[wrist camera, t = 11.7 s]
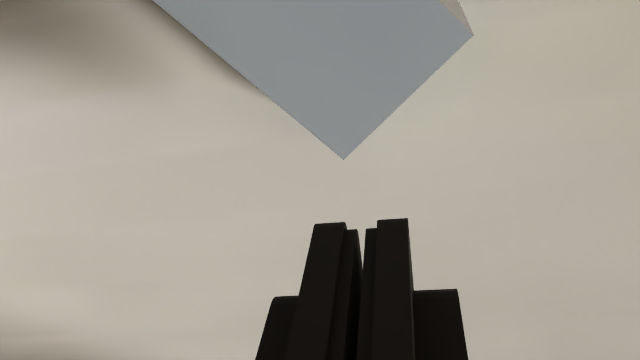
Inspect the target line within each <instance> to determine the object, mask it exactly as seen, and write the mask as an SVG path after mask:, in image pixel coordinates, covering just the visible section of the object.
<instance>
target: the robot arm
mask: <svg viewBox="0 0 640 360" xmlns="http://www.w3.org/2000/svg"><path fill="white" fill-rule="evenodd" d="M255 360H468V355H467V349H466V342H465V336H464V329H463V323H462V316H461V309H460V303H459V296H458V291H457V289H443V290H420V291H414V288H413V276H412V263H411V251H410V239H409V227H408V218H404V219H387V220H378V221H377V228H370V229H366V236H365V249H364V262H363V268H362V260H361V252H360V244H359V236H358V231H357V229H353V230H347V227H346V223H345V222H339V223H322V224H315V225H314V229H313V233H312V238H311V242H310V247H309V251H308V256H307V260H306V265H305V269H304V274H303V279H302V283H301V288H300V292H299V296H280V297H275V298H274V299H273V300H272V303H271V306H270V309H269V313H268V316H267V320H266V323H265V327H264V331H263V334H262V338H261V341H260V345H259V348H258V352H257V356H256V359H255Z"/></svg>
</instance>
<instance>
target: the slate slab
mask: <svg viewBox="0 0 640 360" xmlns="http://www.w3.org/2000/svg"><path fill="white" fill-rule="evenodd" d="M153 1H154V2H155V3H156V4H157V5H159V6H160V7H161V8H162V9H163V10H165V11H166V12H167V13H168V14H169V15H171V16H172V17H173V18H174V19H175V20H177V21H178V22H179V23H180V24H181V25H183V26H184V27H185V28H186V29H187V30H189V31H190V32H191V33H192V34H193V35H195V36H196V37H197V38H198V39H199V40H201V41H202V42H203V43H204V44H205V45H207V46H208V47H209V48H210V49H211V50H213V51H214V52H215V53H216V54H217V55H219V56H220V57H221V58H222V59H223V60H225V61H226V62H227V63H228V64H229V65H231V66H232V67H233V68H234V69H235V70H237V71H238V72H239V73H240V74H241V75H243V76H244V77H245V78H246V79H247V80H249V81H250V82H251V83H252V84H253V85H255V86H256V87H257V88H258V89H259V90H260V91H262V92H263V93H264V94H265V95H266V96H268V97H269V98H270V99H271V100H272V101H274V102H275V103H276V104H277V105H278V106H280V107H281V108H282V109H283V110H284V111H286V112H287V113H288V114H289V115H290V116H292V117H293V118H294V119H295V120H296V121H298V122H299V123H300V124H301V125H302V126H304V127H305V128H306V129H307V130H308V131H310V132H311V133H312V134H313V135H314V136H316V137H317V138H318V139H319V140H320V141H322V142H323V143H324V144H325V145H326V146H328V147H329V148H330V149H331V150H332V151H334V152H335V153H336V154H337V155H338V156H340V157H341V158H342V159H343V160H344V159H345V158H346V157H347V156H348V155H349V154H350V153H351V152H352V151H353V150H354V149H355V148H356V147H357V146H359V145H360V144H361V143H362V142H363V141H364V140H365V139H366V138H367V137H368V136H369V135H370V134H371V133H372V132H373V131H374V130H375V129H376V128H377V127H378V126H379V125H380V124H381V123H382V122H384V121H385V120H386V119H387V118H388V117H389V116H390V115H391V114H392V113H393V112H394V111H395V110H396V109H397V108H398V107H399V106H400V105H401V104H402V103H403V102H404V101H405V100H406V99H407V98H409V97H410V96H411V95H412V94H413V93H414V92H415V91H416V90H417V89H418V88H419V87H420V86H421V85H422V84H423V83H424V82H425V81H426V80H427V79H428V78H429V77H430V76H431V75H432V74H434V73H435V72H436V71H437V70H438V69H439V68H440V67H441V66H442V65H443V64H444V63H445V62H446V61H447V60H448V59H449V58H450V57H451V56H452V55H453V54H454V53H455V52H456V51H457V50H459V49H460V48H461V47H462V46H463V45H464V44H465V43H466V42H467V41H468V40H469V39H470V38H471V37H472V36H473V32H472V30H471V28H470V26H469V23H468V21H467V19H466V17H465V14H464V12H463V10H462V7H461V5H460V3H459V2H458V1H457V0H153Z"/></svg>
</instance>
